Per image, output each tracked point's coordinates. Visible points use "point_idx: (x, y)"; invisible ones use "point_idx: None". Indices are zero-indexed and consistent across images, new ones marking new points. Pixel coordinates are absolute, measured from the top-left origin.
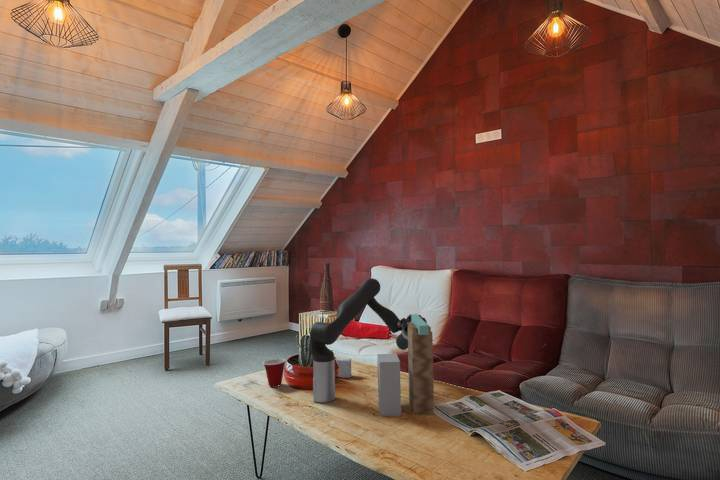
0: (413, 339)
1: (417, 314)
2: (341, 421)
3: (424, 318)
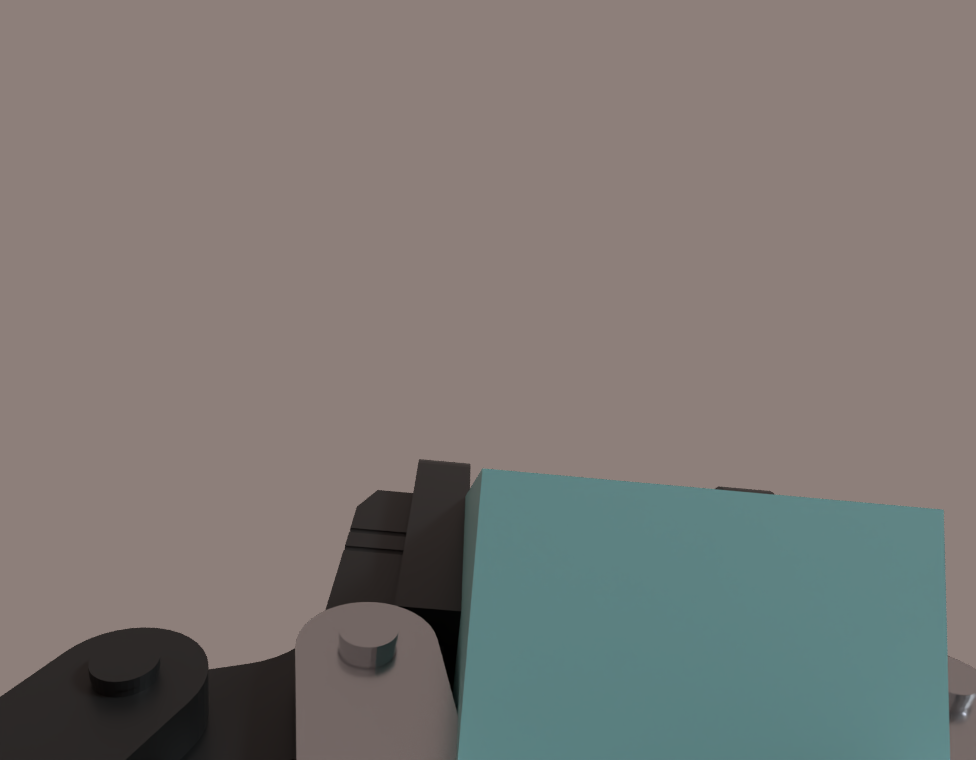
0: None
1: (474, 482)
2: None
3: (62, 686)
